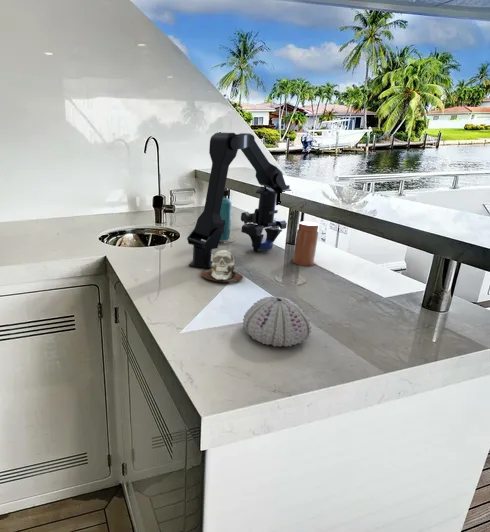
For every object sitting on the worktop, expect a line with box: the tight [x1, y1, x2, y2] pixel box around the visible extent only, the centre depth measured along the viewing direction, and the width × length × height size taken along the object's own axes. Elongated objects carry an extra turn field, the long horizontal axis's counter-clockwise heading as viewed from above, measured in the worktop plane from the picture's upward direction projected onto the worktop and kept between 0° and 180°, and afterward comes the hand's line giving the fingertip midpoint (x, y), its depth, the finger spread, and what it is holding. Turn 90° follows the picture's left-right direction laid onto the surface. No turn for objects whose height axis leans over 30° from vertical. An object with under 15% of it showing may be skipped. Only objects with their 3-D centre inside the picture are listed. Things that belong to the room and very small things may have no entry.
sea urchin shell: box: [242, 296, 312, 348], centre depth 77 cm, size 13×14×8 cm
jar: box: [292, 221, 320, 267], centre depth 122 cm, size 6×6×13 cm
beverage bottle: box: [220, 188, 233, 241], centre depth 142 cm, size 6×7×20 cm
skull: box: [200, 249, 244, 283], centre depth 109 cm, size 12×10×10 cm
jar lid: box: [251, 237, 274, 251], centre depth 135 cm, size 7×7×2 cm
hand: (261, 250), depth 135 cm, fingers closed on jar lid, 7 cm apart
